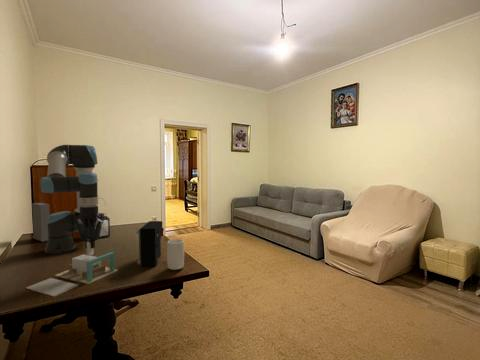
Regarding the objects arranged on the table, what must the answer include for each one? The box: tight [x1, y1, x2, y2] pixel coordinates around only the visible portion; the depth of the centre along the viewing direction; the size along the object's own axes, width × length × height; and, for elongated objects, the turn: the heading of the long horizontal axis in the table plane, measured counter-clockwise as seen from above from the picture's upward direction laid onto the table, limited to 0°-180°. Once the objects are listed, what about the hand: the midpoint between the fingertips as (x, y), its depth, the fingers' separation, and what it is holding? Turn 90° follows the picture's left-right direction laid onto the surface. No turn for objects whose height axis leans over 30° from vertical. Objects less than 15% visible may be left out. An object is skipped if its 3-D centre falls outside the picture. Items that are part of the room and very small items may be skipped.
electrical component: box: [136, 220, 165, 268], centre depth 141 cm, size 18×10×20 cm, turn 5°
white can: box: [166, 238, 185, 271], centre depth 130 cm, size 8×8×14 cm
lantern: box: [95, 197, 111, 239], centre depth 190 cm, size 11×11×28 cm
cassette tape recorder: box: [31, 202, 51, 243], centre depth 180 cm, size 14×6×25 cm, turn 58°
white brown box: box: [71, 253, 102, 275], centre depth 124 cm, size 13×6×7 cm, turn 68°
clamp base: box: [54, 263, 119, 285], centre depth 125 cm, size 22×16×4 cm
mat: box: [25, 277, 79, 298], centre depth 110 cm, size 18×10×1 cm, turn 68°
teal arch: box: [87, 251, 116, 281], centre depth 121 cm, size 2×13×9 cm, turn 158°
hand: (90, 254), depth 123 cm, fingers closed
